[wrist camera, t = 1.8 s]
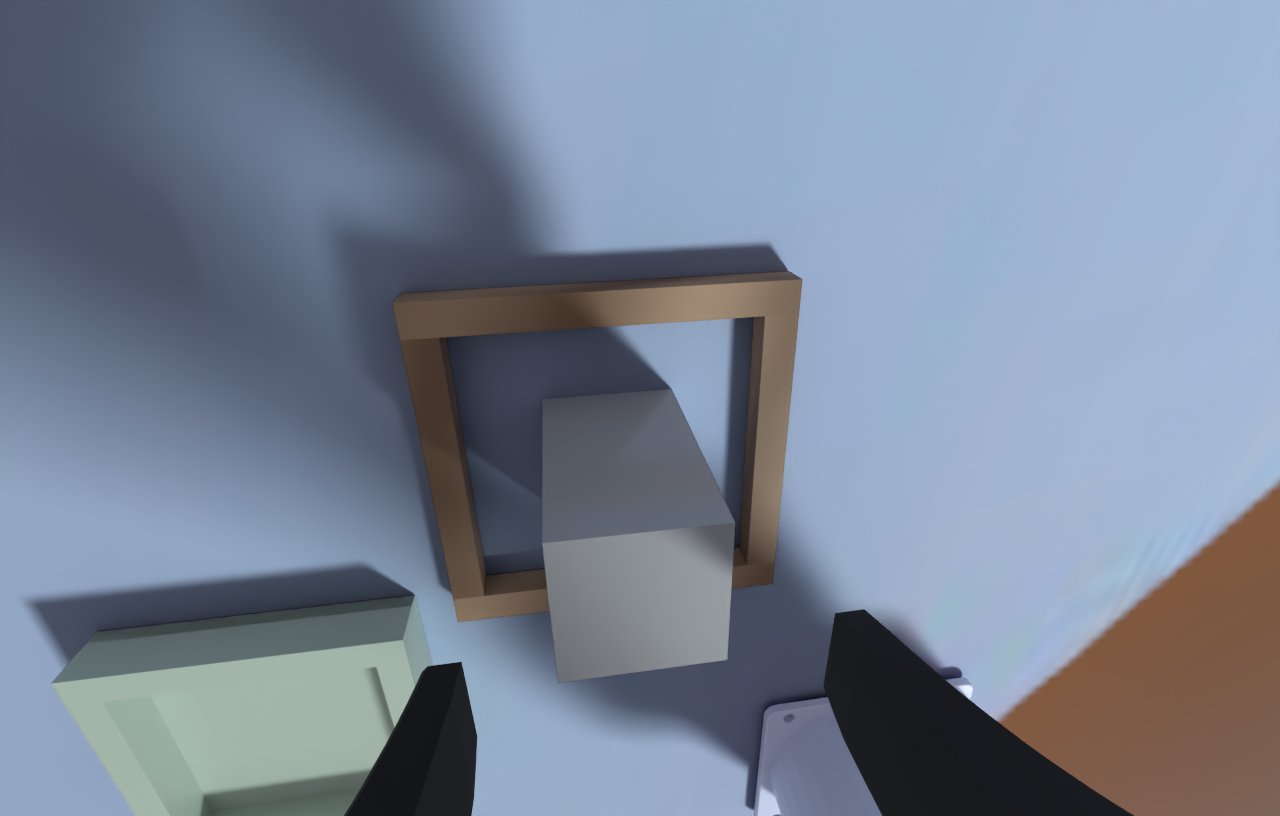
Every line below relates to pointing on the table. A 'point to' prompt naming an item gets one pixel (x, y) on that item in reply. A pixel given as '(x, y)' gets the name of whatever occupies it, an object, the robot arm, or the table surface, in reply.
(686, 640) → the stone block
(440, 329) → the walnut frame
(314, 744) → the sage tray
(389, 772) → the robot arm
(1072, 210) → the table surface
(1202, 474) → the table surface
